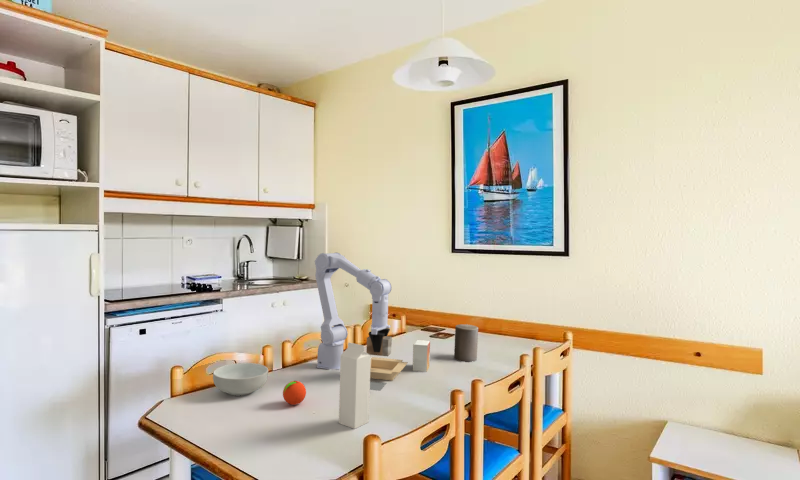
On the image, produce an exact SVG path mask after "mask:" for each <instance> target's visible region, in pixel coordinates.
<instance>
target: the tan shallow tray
mask: <svg viewBox="0 0 800 480" xmlns="http://www.w3.org/2000/svg"><path fill="white" fill-rule="evenodd" d="M407 365H408V362H407V361H404V360H403V359H394V358H387V357H386V358H385V357H378V356H377V357H376V356H371V365H370V379H374V380H375V379H376V380H384V381H394V379H395V378H396V377H397V376H398V375H399V374H400V373H401V372H402V370H404V368H405V367H406V366H407Z"/></svg>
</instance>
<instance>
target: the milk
mask: <svg viewBox="0 0 800 480" xmlns="http://www.w3.org/2000/svg"><path fill="white" fill-rule="evenodd" d="M371 358H372V355H369V354H368V353H366V351H365V345H361V344H359V343H354V342H348V343H347V348H346V349H345V350H343V354H342V355H341V361H340V370H339V371H340V372H339V400H338V402H339V403H338V407H339V408H338V424H340V425H342V426H346V427H348V428H352V429H354V430H355V429H358V428H359V427H362V426H364V425H366V424H369V422H370V397H371V395H370V394H371V390H370V381H371V378H370V365H371Z"/></svg>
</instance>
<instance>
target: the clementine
mask: <svg viewBox="0 0 800 480" xmlns="http://www.w3.org/2000/svg"><path fill="white" fill-rule="evenodd" d="M282 396H283V399H284V401H285V402H286V403H287V404H288V405H291V406H292V405H293V406H296V405H299V404H300V403H302V402H303V401H304V400H305V399H306V396H307V389H306V387H305V385H304V383H303V382H301V381H298V380H292V381H289V382H288V383H287V384H285V386H284V388H283V390H282Z"/></svg>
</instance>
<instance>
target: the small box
mask: <svg viewBox="0 0 800 480" xmlns="http://www.w3.org/2000/svg"><path fill="white" fill-rule="evenodd" d="M412 346H413V347H412V348H413V349H412V350H413V351H412V372H420V373H421V372H422V373H428V370H429V368H430V358H431V357H430V354H431V341H430V340H423V339H422V340H421V339H416V340H415V342H414V343H413V345H412Z"/></svg>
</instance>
